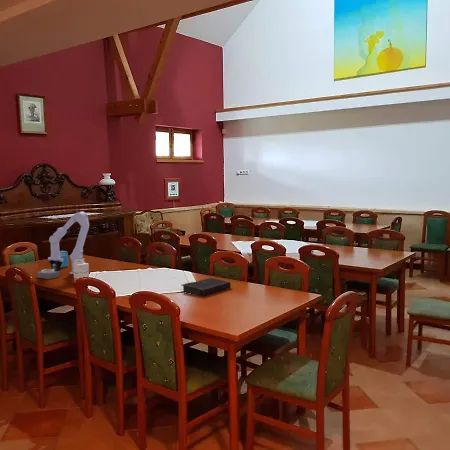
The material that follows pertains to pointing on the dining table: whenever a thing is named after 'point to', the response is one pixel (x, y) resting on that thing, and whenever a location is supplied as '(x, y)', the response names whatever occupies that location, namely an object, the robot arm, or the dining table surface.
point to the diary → (206, 286)
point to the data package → (64, 258)
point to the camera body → (48, 274)
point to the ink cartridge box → (80, 269)
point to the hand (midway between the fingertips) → (56, 270)
